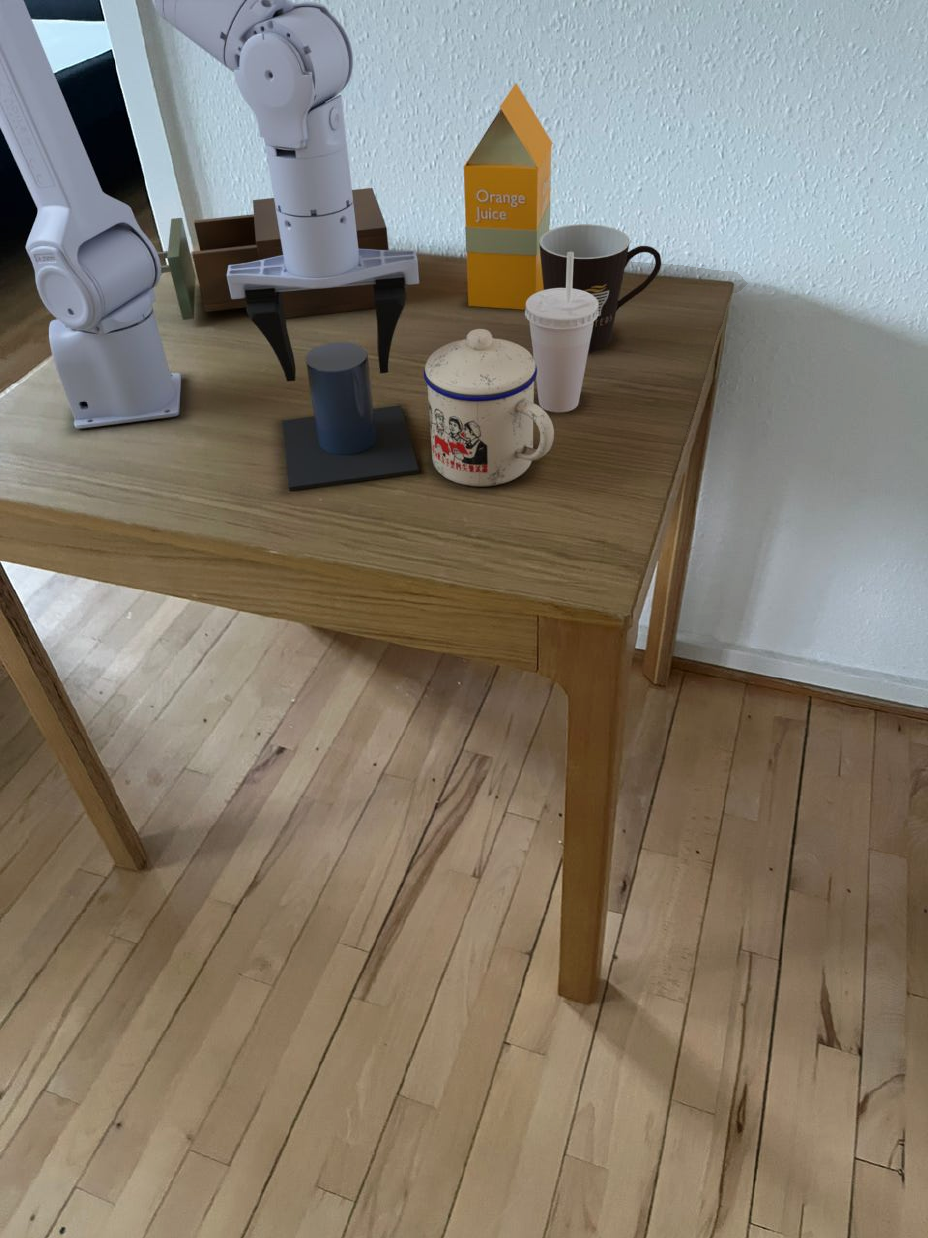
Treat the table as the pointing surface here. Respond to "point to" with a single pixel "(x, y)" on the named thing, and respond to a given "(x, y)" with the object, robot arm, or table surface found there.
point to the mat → (324, 468)
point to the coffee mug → (593, 269)
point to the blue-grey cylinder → (342, 397)
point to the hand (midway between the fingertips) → (337, 371)
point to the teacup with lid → (484, 410)
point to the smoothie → (561, 341)
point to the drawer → (209, 260)
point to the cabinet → (334, 298)
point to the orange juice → (507, 207)
